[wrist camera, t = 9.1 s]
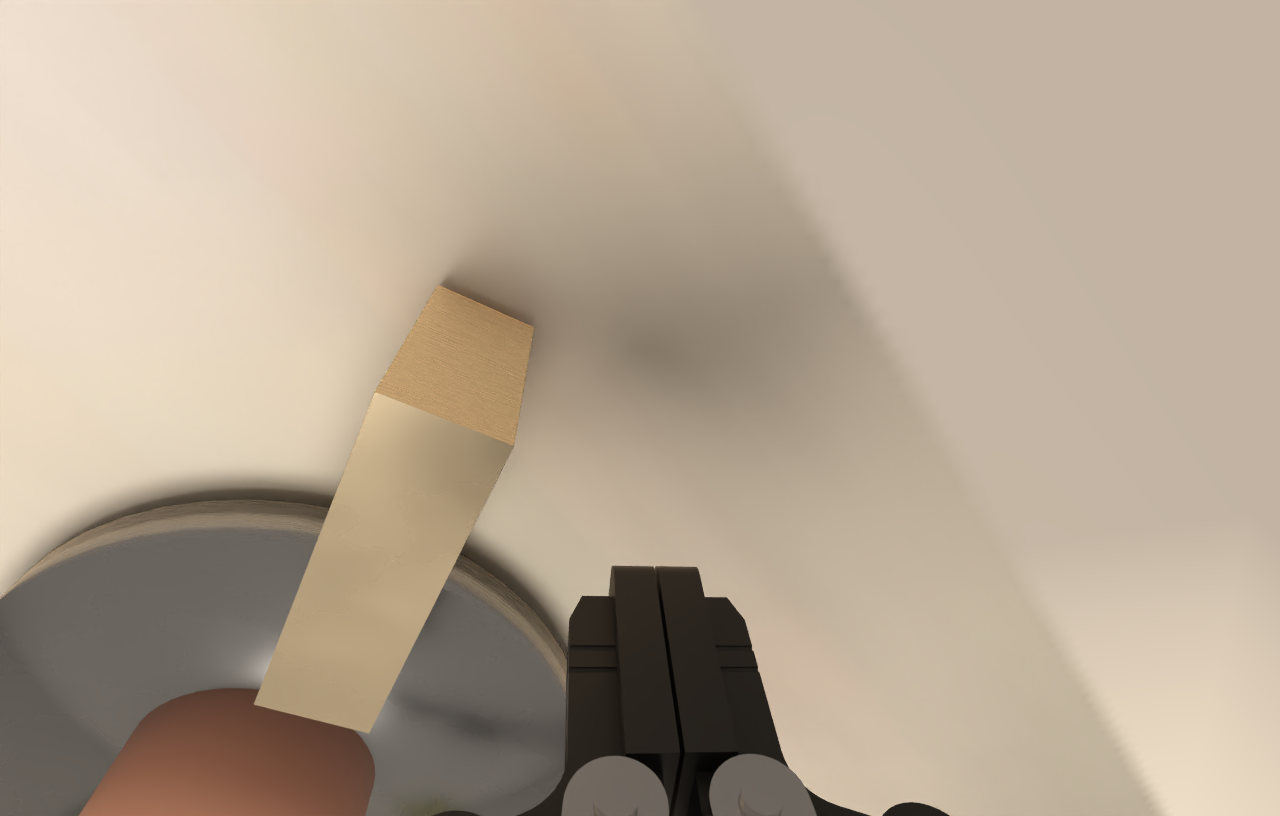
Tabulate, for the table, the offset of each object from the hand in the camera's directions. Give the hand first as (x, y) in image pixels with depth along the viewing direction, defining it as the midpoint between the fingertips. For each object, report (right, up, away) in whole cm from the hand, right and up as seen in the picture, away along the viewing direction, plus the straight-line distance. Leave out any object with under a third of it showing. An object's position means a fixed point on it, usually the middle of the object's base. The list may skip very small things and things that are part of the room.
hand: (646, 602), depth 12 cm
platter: (-10, -4, +9) cm, 14 cm away
